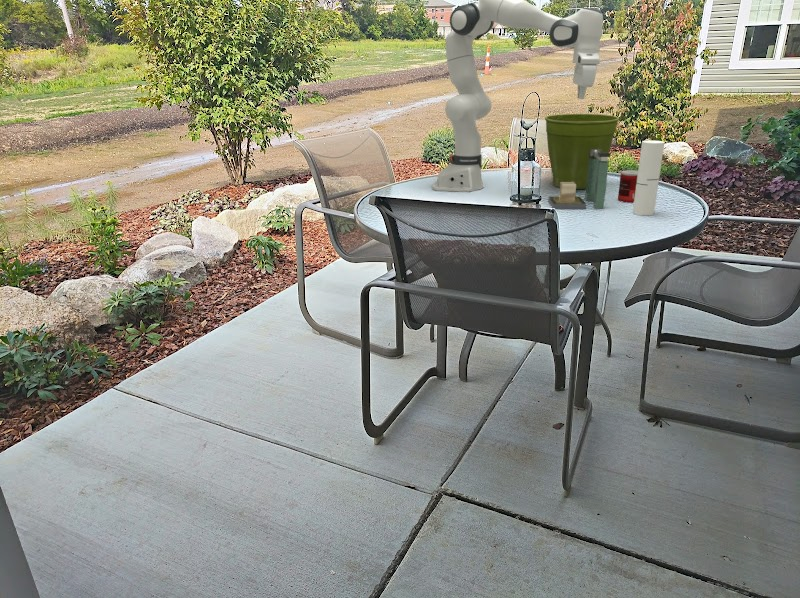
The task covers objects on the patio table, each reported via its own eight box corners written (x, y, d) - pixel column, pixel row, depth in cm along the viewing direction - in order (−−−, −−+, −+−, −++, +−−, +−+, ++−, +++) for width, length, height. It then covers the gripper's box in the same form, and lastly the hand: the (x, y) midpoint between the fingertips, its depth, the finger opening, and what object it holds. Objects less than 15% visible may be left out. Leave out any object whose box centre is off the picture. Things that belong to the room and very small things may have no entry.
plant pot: (542, 178, 274) (546, 113, 263) (609, 180, 266) (617, 113, 255) (538, 191, 247) (543, 120, 236) (612, 194, 240) (621, 121, 229)
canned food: (639, 198, 231) (643, 170, 227) (637, 203, 225) (641, 174, 221) (618, 197, 235) (622, 169, 230) (616, 201, 228) (619, 173, 224)
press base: (552, 209, 219) (556, 163, 213) (546, 198, 235) (549, 155, 228) (605, 209, 218) (610, 162, 211) (594, 198, 233) (599, 155, 227)
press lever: (589, 156, 227) (589, 147, 226) (599, 156, 227) (600, 147, 225) (598, 163, 212) (599, 153, 211) (610, 163, 212) (611, 153, 210)
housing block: (574, 200, 221) (576, 184, 219) (561, 200, 221) (562, 184, 219) (572, 197, 226) (573, 182, 223) (559, 197, 226) (560, 182, 224)
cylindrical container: (655, 215, 207) (666, 143, 198) (634, 215, 209) (643, 143, 199) (651, 210, 214) (662, 140, 204) (631, 210, 215) (640, 140, 206)
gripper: (571, 57, 221) (567, 95, 226) (582, 58, 202) (577, 101, 208) (588, 57, 220) (583, 96, 226) (601, 58, 202) (595, 101, 207)
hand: (580, 98), depth 217 cm, fingers closed
